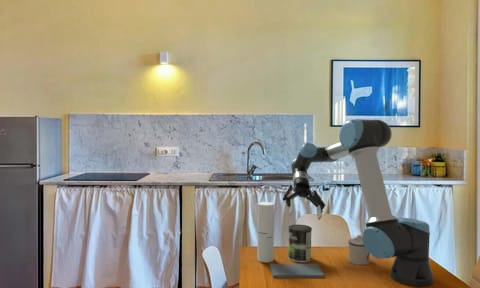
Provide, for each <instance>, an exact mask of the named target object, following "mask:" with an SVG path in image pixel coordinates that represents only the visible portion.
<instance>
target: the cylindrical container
mask: <svg viewBox="0 0 480 288" xmlns="http://www.w3.org/2000/svg"><path fill="white" fill-rule="evenodd" d="M274 230H275V203H274V202H269V201H260V202H258V203H257V243H256V244H257V245H256V246H257V253H256V256H257V259H256V260H257V261H258V262H260V263H270V262H273V261H274V252H275V251H274V249H275V248H274V243H275V241H274V240H275V239H274V237H275V231H274Z"/></svg>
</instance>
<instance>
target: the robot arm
mask: <svg viewBox="0 0 480 288" xmlns="http://www.w3.org/2000/svg"><path fill="white" fill-rule="evenodd" d="M392 134H393V133H392V129H391V127H390V125H389V124H388V123H387V122H385V121H383V120H381V119H361V118H360V119H359V118H356V119H349V120H347V121H345V122H344V123H343V124H342V126H341V129H340V130H339V137H338V138H339V141H338V142H335V143H333V144H330V145H328V146H322V147H318V146H317V145H315V144H314V143H311V142H305V143H304V144H302V146H301V148H300V149H299V152H298V155H297V157H296V158H294V159H293V160H292V161H291V167H290V168H291V175H292V182H293V185H292V184H289V186H288V189H287V190H286V191H285V194H284V195H283V197H282V201H284V202H285V203H286V206H287V207H288V209H289V210H288V212H289V214H290V215H292V214H293V211H294V203H293V200H294V199H296V198H297V197H299V198H304V199H306V200H308V201H309V202H310V203H311V204H313V206H314V207H315V208H316V209H315V210H316V215H317V220H318V221H320V220H321V219H322V217H323V210H324V209H325V207H326V204H325V202H324V201H323V200H322V198H321V197H320V195H319V194H318V191H317V190H313V191H312V190H311V187H310V180H309V176H308V175H309V174H308V170H309V168H310V166H311V164H312V163H333V162H337V161H339V159H341V158H344V157H346V156H350V157H352V158H353V160H354V164H355V167H356V171H357V175H358V180H359V184H360V188H361V192H362V196H363V200H364V205H365V208H366V214H367V220H366V222H365V223H364V224H365V228H364V230H363V232H362V235H361V236H362V240H363V244H364V246H365V248H366V250H367V251H368V252H369V255H371V257H374V258H375V259H379V260H380V259H381V260H382V259H383V260H384V259H391V258H394V260H393V264H391V265H392V266H391V268H390V277H391V278H392V279H393V280H394V281H395V282H398V283H401V284H404V285H406V286H407V285H408V286H413V287H429V286H432V285H434V273H433V270H432V268H431V264H430V235H431V232H430V231H431V230H430V225H429V223H427V222H426V221H422V220H418V219H414V218H409V217H408V218H407V217H397V216H395V215H393V212H392V210H391V204H390V202H389V198H388V194H387V190H386V186H385V185H386V184H385V183H384V182H385V181H384V179H383V174H382V170H381V167H380V166H381V165H380V162H379V159H378V155H377V153H378V151H379V150H380V148H383V147H385V146H386V145H388V144H389V142H390V141H391V138H392ZM292 191H293V193H291V192H292ZM290 193H291V195H290Z"/></svg>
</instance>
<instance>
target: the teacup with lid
mask: <svg viewBox="0 0 480 288" xmlns="http://www.w3.org/2000/svg"><path fill="white" fill-rule="evenodd" d="M348 262H349V263H351V264H353V265H357V266H365V265H369V264H370V253H369V252H368V251H367V250H366V248H365V246H364V244H363V240H362V235H360V234H357V235H356V236H355V237H353V238H350V239H349V240H348Z"/></svg>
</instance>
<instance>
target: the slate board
mask: <svg viewBox="0 0 480 288" xmlns="http://www.w3.org/2000/svg"><path fill="white" fill-rule="evenodd" d="M269 267H270V271H271V275H272V277H273V279H277V278H279V279H280V278H281V279H283V278H289V279H290V278H291V279H292V278H294V279H295V278H296V279H297V278H299V279H300V278H302V279H305V278H308V279H309V278H310V279H313V278H316V279H317V278H321V279H322V278H324V279H325V274H324V272H323V270H322V269H321V267H320V266H319V264H318V263H270V264H269Z"/></svg>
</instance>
